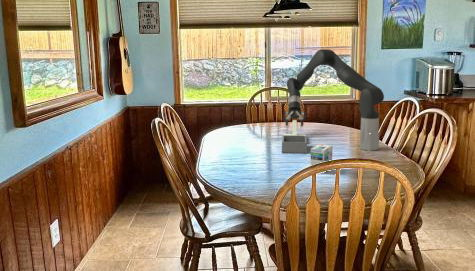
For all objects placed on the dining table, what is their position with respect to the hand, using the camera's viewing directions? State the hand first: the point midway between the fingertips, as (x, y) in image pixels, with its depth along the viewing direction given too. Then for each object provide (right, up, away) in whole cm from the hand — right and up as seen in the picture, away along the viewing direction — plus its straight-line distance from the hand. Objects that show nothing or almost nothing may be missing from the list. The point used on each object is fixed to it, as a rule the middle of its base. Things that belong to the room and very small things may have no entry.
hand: (294, 125), depth 264 cm
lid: (-1, -9, -5) cm, 11 cm away
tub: (-4, -14, -28) cm, 31 cm away
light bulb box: (+3, -22, -67) cm, 71 cm away
